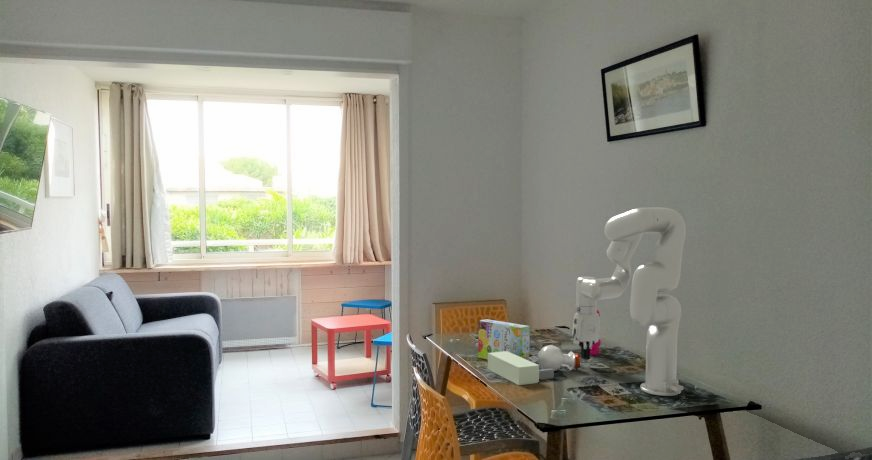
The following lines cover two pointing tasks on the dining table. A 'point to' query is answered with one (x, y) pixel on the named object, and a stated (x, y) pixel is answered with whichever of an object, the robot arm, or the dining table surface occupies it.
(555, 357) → the potion bottle
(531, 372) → the green and grey block
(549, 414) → the dining table surface
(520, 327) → the snack box
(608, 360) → the dining table surface
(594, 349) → the pepper mill
